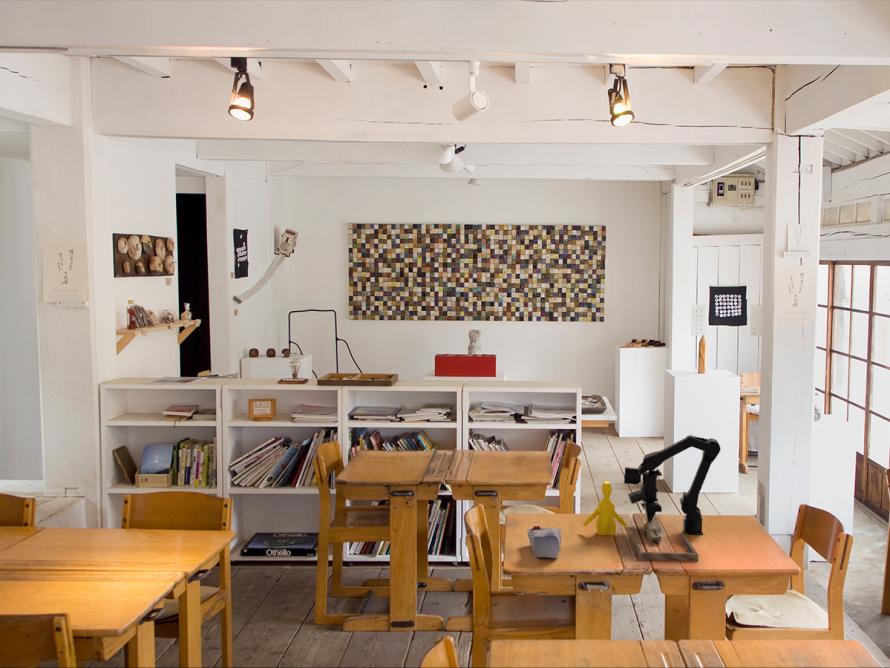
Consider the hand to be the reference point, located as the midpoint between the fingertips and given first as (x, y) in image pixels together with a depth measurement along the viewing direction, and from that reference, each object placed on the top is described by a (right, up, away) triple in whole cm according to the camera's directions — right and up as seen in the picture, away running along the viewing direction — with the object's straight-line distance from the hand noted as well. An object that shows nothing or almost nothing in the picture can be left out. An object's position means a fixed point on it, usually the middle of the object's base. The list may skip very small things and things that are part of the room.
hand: (649, 522), depth 309 cm
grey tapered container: (-46, -5, -26) cm, 53 cm away
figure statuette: (-20, -3, -7) cm, 21 cm away
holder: (-2, -4, -25) cm, 25 cm away
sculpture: (-2, -4, -11) cm, 12 cm away
